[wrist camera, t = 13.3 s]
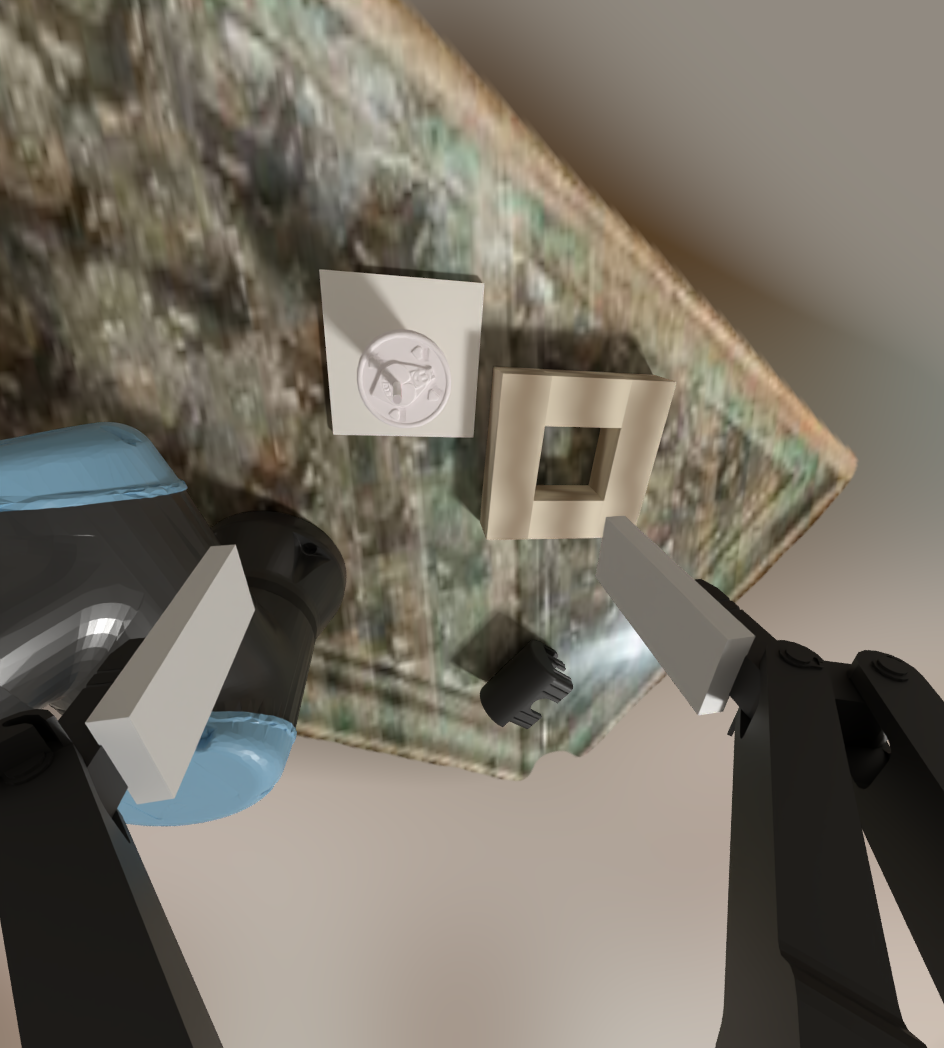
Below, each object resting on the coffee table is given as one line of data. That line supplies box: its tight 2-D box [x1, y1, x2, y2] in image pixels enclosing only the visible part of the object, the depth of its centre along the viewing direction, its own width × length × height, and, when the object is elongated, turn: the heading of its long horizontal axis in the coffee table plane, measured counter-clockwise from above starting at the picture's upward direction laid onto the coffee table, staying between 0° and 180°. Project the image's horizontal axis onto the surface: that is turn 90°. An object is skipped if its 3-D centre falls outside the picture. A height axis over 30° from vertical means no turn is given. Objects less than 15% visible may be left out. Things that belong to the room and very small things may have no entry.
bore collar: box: [480, 366, 677, 540], centre depth 42 cm, size 16×16×4 cm
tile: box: [319, 269, 484, 438], centre depth 37 cm, size 13×13×1 cm
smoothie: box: [357, 329, 451, 428], centre depth 31 cm, size 6×6×14 cm
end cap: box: [480, 640, 573, 729], centre depth 55 cm, size 10×7×7 cm
